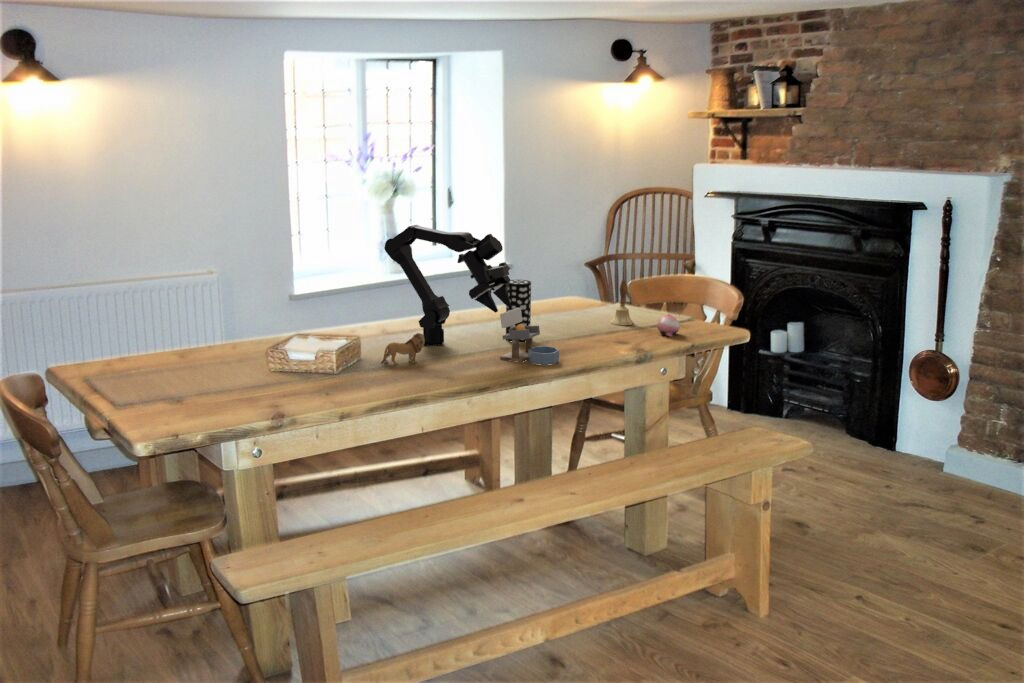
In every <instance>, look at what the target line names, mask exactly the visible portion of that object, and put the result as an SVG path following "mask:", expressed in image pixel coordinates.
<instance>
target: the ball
mask: <svg viewBox="0 0 1024 683" xmlns="http://www.w3.org/2000/svg"><path fill="white" fill-rule="evenodd" d="M515 330H525V326H524V325H522V324H519V325H517V326H516V328H515Z"/></svg>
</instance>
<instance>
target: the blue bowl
mask: <svg viewBox="0 0 1024 683" xmlns="http://www.w3.org/2000/svg"><path fill="white" fill-rule="evenodd" d="M528 360H529V361H530V362H531V363H535V364H541V365H543V366H549V365H548V364H554V365H556V364H558V363H559V362H560V350H559V348H557V347H555V346H548V345H541V346H540V345H539V346H532V348H530V349H528ZM528 360H527V361H528ZM529 361H528V362H529ZM530 362H529V363H530ZM557 362H558V363H557ZM531 363H530V364H531ZM555 363H556V364H555ZM535 364H534V365H535ZM541 365H540V366H541Z"/></svg>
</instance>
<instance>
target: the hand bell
mask: <svg viewBox="0 0 1024 683" xmlns="http://www.w3.org/2000/svg"><path fill="white" fill-rule="evenodd" d="M627 292H628V286H627V282H626V279H622V280H621V282H620V285H619V294H620V304H619V306H618V307H616V310H615V314H614V317H613V319H612V320H610V323H612V324H611V325H613V326H630V325H631V326H632V325H633V324H634V321H633V320H632V318H631V316H630V311H629V310H630V309H629V308H627V307H626V305H625V304H626V295H627Z"/></svg>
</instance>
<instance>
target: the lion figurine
mask: <svg viewBox="0 0 1024 683" xmlns="http://www.w3.org/2000/svg"><path fill="white" fill-rule="evenodd" d="M424 343H425V338H424V335H423V333H420V332H416V333H415V334H413V336H412V337H411V338H410V339H409V340H407V341H406V342H402V343H401V342H400V343H399V342H395V341H394V342H390V343H389V344H387V345H386V347H385V350H384V353H383V359H382V360H381V362H380V365H382V364H384V363H385V364H387V363H389V361H388V360H387V359H388V358H389V357H390V356H391V362H392V363H393V365H394V366H398V365H399V362H396V361H395V359H396V357H397V354H399V355H404V356H406V355H408V361H409V362H412V363H413V364H418V361H416V359H417V358H416V356H417V354H418V353H420V352H421V351H422V349H423V348H424V346H425V345H424Z"/></svg>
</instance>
